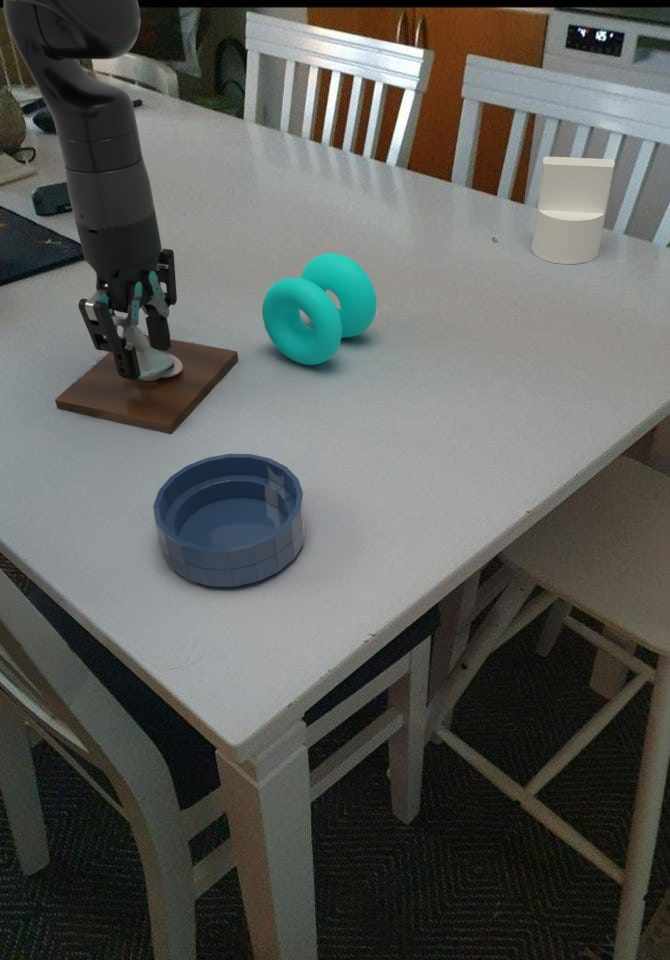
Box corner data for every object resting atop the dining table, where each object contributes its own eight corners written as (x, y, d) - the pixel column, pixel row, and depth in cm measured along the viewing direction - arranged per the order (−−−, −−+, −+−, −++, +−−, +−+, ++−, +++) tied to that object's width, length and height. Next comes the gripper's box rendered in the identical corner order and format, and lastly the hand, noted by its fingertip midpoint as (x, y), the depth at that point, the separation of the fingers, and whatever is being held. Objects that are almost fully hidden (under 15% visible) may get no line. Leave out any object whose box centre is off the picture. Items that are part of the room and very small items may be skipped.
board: (171, 434, 82) (169, 424, 81) (57, 408, 86) (54, 399, 85) (238, 360, 92) (237, 351, 92) (134, 340, 97) (132, 331, 96)
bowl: (268, 607, 63) (263, 567, 61) (135, 569, 67) (124, 529, 64) (326, 509, 72) (324, 470, 69) (206, 480, 76) (199, 442, 73)
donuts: (381, 340, 95) (381, 259, 88) (333, 380, 88) (329, 296, 82) (311, 319, 99) (307, 241, 93) (261, 355, 93) (252, 274, 87)
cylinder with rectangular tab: (529, 261, 109) (541, 172, 102) (533, 235, 116) (544, 149, 108) (598, 266, 108) (615, 175, 100) (598, 239, 114) (614, 151, 107)
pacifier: (153, 351, 92) (110, 371, 89) (144, 300, 89) (99, 320, 85) (196, 371, 89) (153, 394, 85) (189, 320, 85) (143, 341, 81)
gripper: (122, 179, 83) (151, 326, 94) (33, 233, 73) (77, 391, 83) (186, 186, 81) (209, 336, 91) (104, 243, 70) (140, 404, 81)
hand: (146, 362), depth 87 cm, fingers open, 5 cm apart
